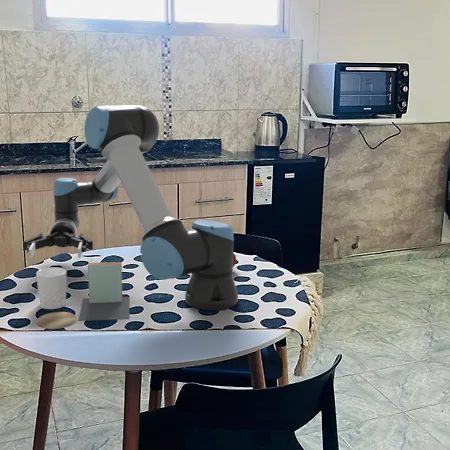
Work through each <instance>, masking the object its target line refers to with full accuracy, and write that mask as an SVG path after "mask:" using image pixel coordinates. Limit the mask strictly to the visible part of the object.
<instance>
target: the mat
mask: <svg viewBox="0 0 450 450" xmlns="http://www.w3.org/2000/svg"><path fill="white" fill-rule="evenodd" d="M130 299H131V298H130V296H122V302H107V303H89V297H87V298H85V297H83V298H82V302H81V306H80V310H79V314H78V318H77V321H78V322H89V321H115V320H130V306H131V305H130V303H131V302H130V301H131V300H130Z"/></svg>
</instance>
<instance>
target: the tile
mask: <svg viewBox="0 0 450 450" xmlns="http://www.w3.org/2000/svg"><path fill="white" fill-rule="evenodd" d="M122 264H123V262H122V261H111V262H109V261H108V262H88V264H87V276H88V298H89V303H107V302H122V297H123V270H122V268H123V267H122Z"/></svg>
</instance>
